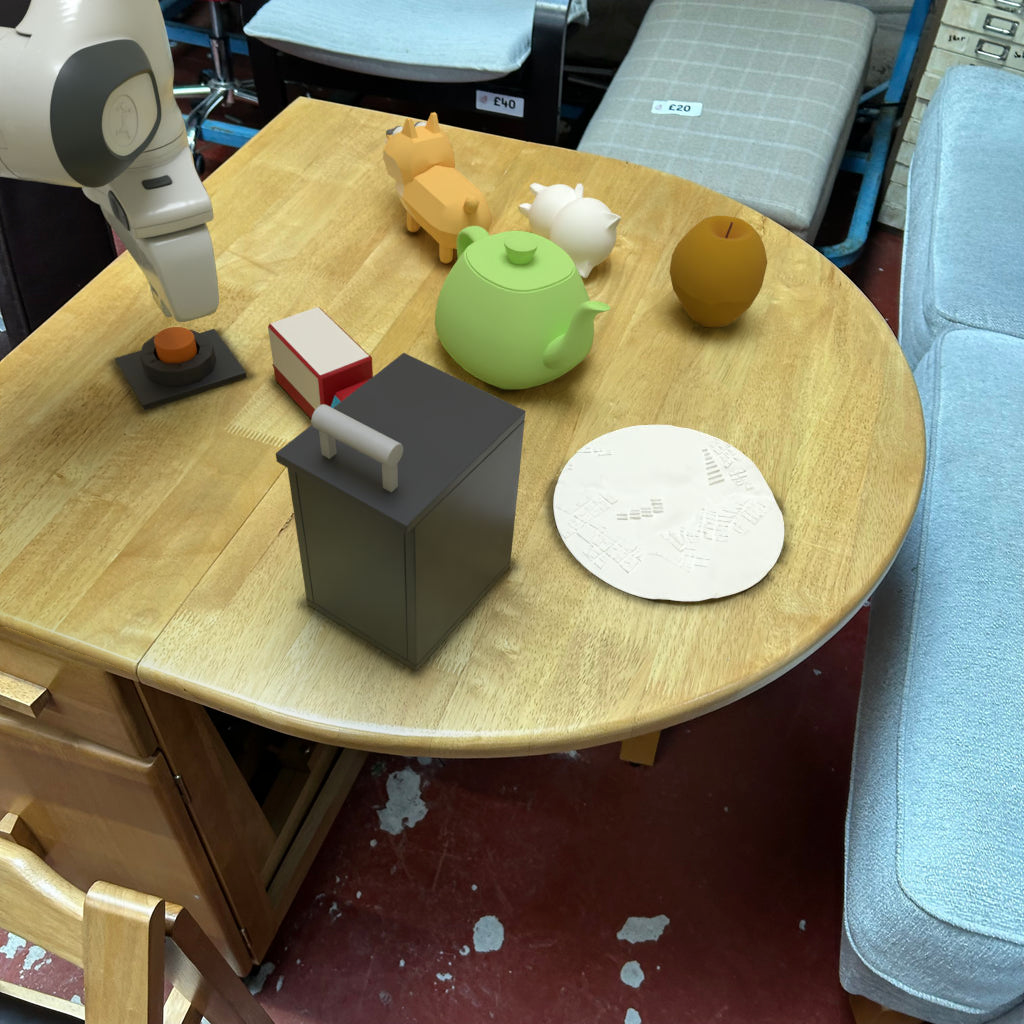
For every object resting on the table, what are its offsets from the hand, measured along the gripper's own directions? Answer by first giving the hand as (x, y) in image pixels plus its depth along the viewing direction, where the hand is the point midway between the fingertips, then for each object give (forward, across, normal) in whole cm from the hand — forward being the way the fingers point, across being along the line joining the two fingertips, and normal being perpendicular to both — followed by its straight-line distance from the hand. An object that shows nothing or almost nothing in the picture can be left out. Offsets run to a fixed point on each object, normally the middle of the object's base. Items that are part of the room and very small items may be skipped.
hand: (169, 307), depth 87 cm
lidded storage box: (+7, +34, +6) cm, 35 cm away
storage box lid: (-9, +34, +5) cm, 36 cm away
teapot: (+8, +14, +29) cm, 34 cm away
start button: (+5, 0, 0) cm, 5 cm away
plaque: (+7, +39, +29) cm, 49 cm away
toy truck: (+7, +13, +10) cm, 18 cm away
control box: (+7, 0, 0) cm, 7 cm away
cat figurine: (+8, +1, +46) cm, 47 cm away
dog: (+8, -10, +34) cm, 36 cm away
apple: (+8, +18, +52) cm, 55 cm away
